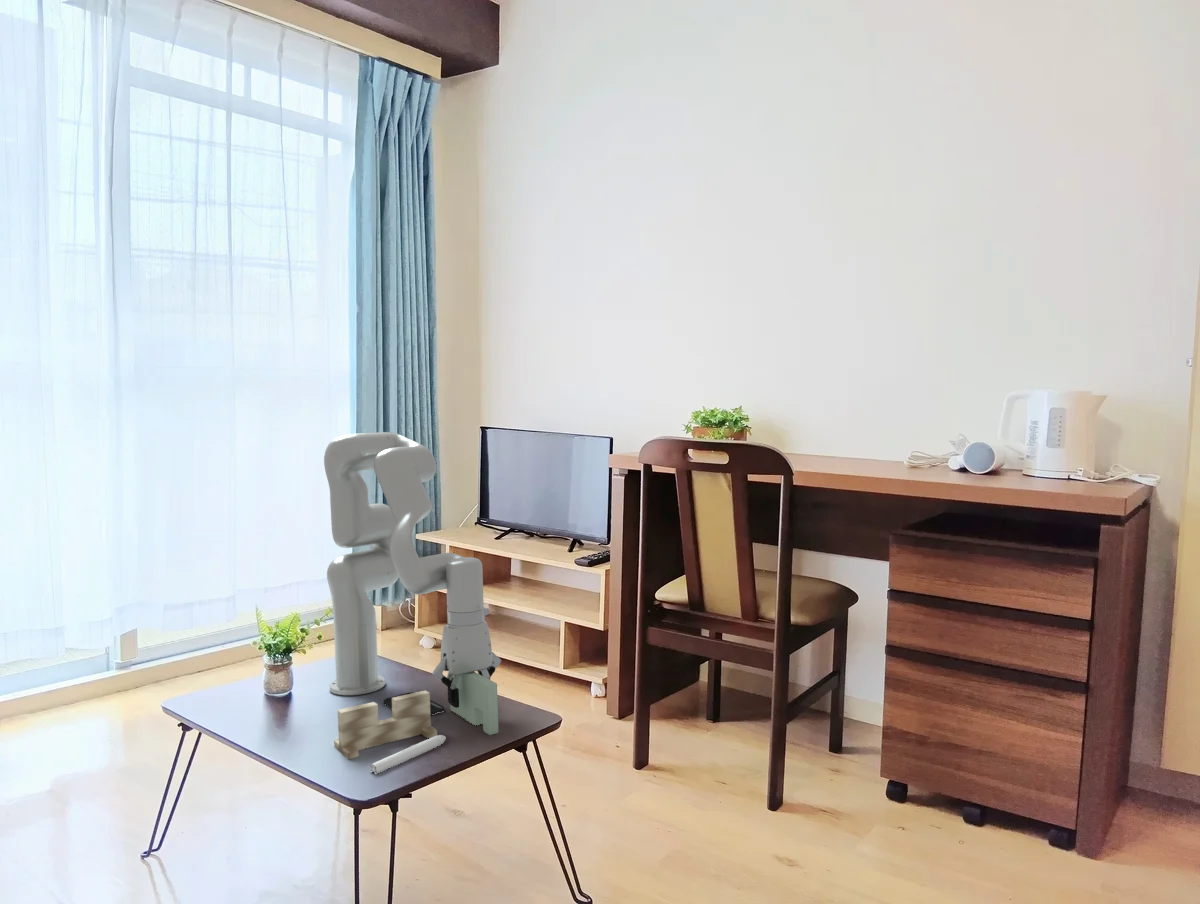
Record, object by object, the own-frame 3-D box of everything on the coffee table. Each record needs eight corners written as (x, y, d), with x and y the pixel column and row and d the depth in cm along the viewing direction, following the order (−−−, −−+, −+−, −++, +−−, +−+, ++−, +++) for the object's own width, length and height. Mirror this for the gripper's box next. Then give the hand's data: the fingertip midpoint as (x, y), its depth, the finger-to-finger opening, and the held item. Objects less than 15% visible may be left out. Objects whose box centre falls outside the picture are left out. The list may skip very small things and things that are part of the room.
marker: (442, 741, 171) (441, 729, 171) (449, 743, 170) (449, 731, 170) (369, 774, 156) (368, 761, 156) (377, 776, 155) (376, 763, 155)
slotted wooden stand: (348, 759, 162) (346, 717, 162) (334, 746, 169) (332, 705, 168) (437, 736, 173) (435, 696, 172) (421, 724, 179) (419, 686, 179)
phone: (413, 691, 198) (446, 707, 187) (413, 696, 198) (446, 712, 187) (381, 699, 193) (413, 717, 182) (381, 704, 193) (413, 722, 182)
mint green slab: (498, 732, 174) (497, 683, 173) (489, 735, 173) (488, 685, 172) (458, 708, 189) (457, 662, 188) (450, 710, 187) (448, 664, 187)
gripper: (494, 607, 189) (496, 689, 190) (419, 620, 179) (422, 706, 180) (511, 614, 183) (513, 698, 184) (435, 627, 173) (438, 716, 174)
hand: (468, 701), depth 182 cm, fingers open, 5 cm apart
